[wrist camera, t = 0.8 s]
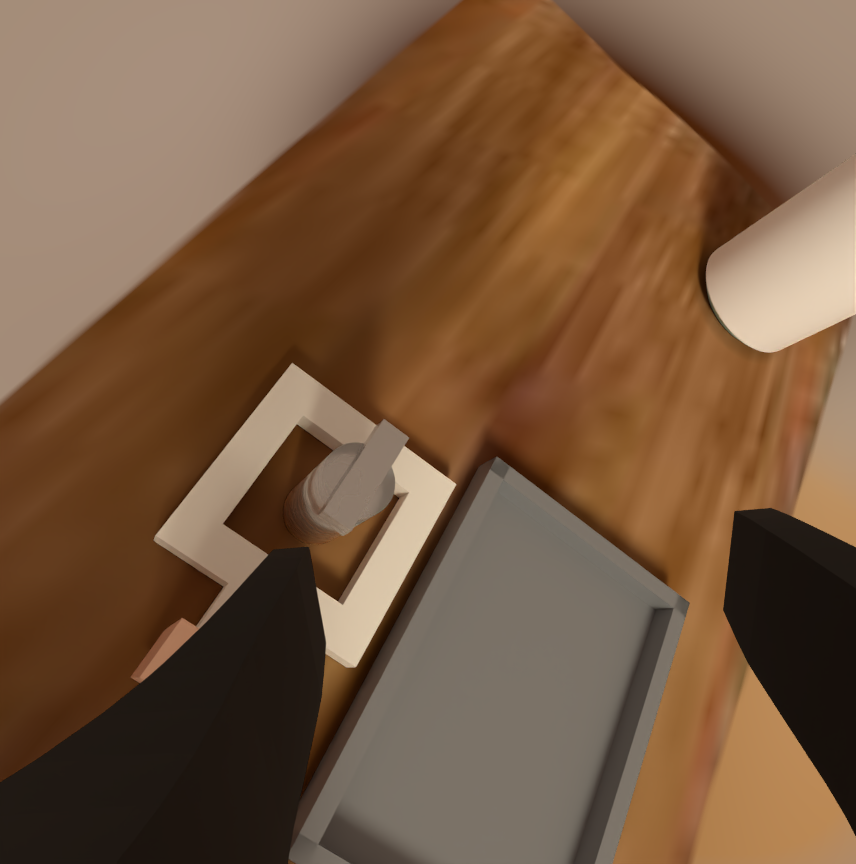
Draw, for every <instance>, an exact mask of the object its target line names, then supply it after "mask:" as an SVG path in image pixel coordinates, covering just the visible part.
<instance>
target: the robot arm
mask: <svg viewBox="0 0 856 864" xmlns="http://www.w3.org/2000/svg"><path fill="white" fill-rule="evenodd" d="M723 611H724V613H725V615H726V617H727V619H728V622H729V624H730V626H731V628H732V631H733V633H734V635H735V637H736V639H737V642H738V644H739V646H740V648H741V650H742V652H743V654H744V656H745V658H746V660H747V662H748V664H749V665H750V667H751V669H752V670H753V672H754V673H755V675H756V677H757V678H758V680H759V681H760V683H761V684H762V686H763V688H764V689H765V691H766V692H767V694H768V695H769V697H770V698H771V700H772V701H773V703H774V705H775V706H776V708H777V709H778V711H779V712H780V714H781V715H782V717H783V719H784V720H785V722H786V723H787V725H788V726H789V728H790V729H791V731H792V732H793V734H794V735H795V737H796V738H797V740H798V742H799V743H800V744H801V746H802V748H803V749H804V751H805V752H806V754H807V755H808V757H809V758H810V760H811V761H812V763H813V765H814V766H815V767H816V769H817V771H818V772H819V773H820V775H821V777H822V778H823V780H824V781H825V783H826V784H827V786H828V788H829V789H830V791H831V793H832V794H833V796H834V798H835V799H836V801H837V803H838V804H839V806H840V808H841V809H842V811H843V813H844V815H845V816H846V818H847V820H848V822H849V824H850V826H851V828H852V830H853V831H854V834H855V836H856V547H854V546H852V545H850V544H848V543H846V542H844V541H842V540H840V539H837V538H836V537H834V536H832V535H829V534H827V533H825V532H823V531H821V530H819V529H817V528H815V527H813V526H811V525H809V524H807V523H805V522H803V521H800V520H798V519H796V518H794V517H792V516H789V515H787V514H785V513H782V512H780V511H777V510H775V509H772V508H767V509H755V510H743V511H735V512H734V521H733V530H732V538H731V547H730V556H729V565H728V573H727V582H726V591H725V599H724V608H723ZM325 652H326V638H325V633H324V627H323V622H322V616H321V611H320V605H319V600H318V594H317V589H316V583H315V578H314V572H313V566H312V561H311V555H310V550H309V547H299V548H287V549H275V550H273V551H272V552H271V553H270V554H269V555H268V556H267V557H266V558H265V559H264V560H263V561H262V562H261V563H260V565H259V566H258V567H257V568H256V569H255V570H254V571H253V572H252V573H251V574H250V575H249V577H248V578H247V579H246V580H245V581H244V582H243V583H242V584H241V585H240V587H239V588H238V589H237V590H236V591H235V592H234V593H233V594H232V595H231V596H230V597H229V599H228V600H227V601H226V602H225V603H224V604H223V605H222V606H221V607H220V608H219V609H218V610H217V611H216V612H215V613H214V614H213V615H212V617H211V618H210V619H209V620H208V621H207V622H206V623H205V624H204V625H203V626H202V627H201V628H200V629H199V630H198V631H196V632H195V633H194V634H193V635H192V636H191V637H190V638H189V639H188V640H187V641H186V642H185V643H184V644H183V645H182V646H181V647H180V648H179V649H178V650H177V651H176V652H175V653H174V654H172V655H171V656H170V657H169V658H168V659H167V660H166V661H165V662H164V663H163V664H162V665H161V666H160V667H158V668H157V669H156V670H155V671H154V672H153V673H152V674H150V675H149V676H148V677H147V678H146V679H145V680H143V681H142V682H141V683H140V684H139V685H137V686H136V687H135V688H134V689H132V690H131V691H130V692H129V693H127V694H126V695H125V696H124V697H122V698H121V699H120V700H119V701H117V702H116V703H115V704H114V705H112V706H111V707H110V708H109V709H107V710H106V711H105V712H103V713H102V714H101V715H99V716H98V717H97V718H95V719H94V720H92V721H91V722H90V723H88V724H87V725H85V726H84V727H82V728H81V729H80V730H78V731H77V732H75V733H74V734H72V735H71V736H70V737H68V738H67V739H65V740H64V741H62V742H61V743H60V744H58V745H57V746H55V747H54V748H53V749H51V750H50V751H48V752H47V753H45V754H44V755H43V756H41V757H40V758H38V759H37V760H35V761H34V762H32V763H30V764H29V765H27V766H26V767H24V768H23V769H21V770H19V771H18V772H16V773H15V774H13V775H11V776H10V777H8V778H7V779H5V780H3V781H2V782H0V864H288V859H289V853H290V847H291V841H292V835H293V829H294V824H295V820H296V815H297V810H298V806H299V801H300V796H301V792H302V787H303V783H304V778H305V773H306V769H307V764H308V759H309V755H310V750H311V746H312V741H313V736H314V731H315V727H316V722H317V717H318V712H319V707H320V702H321V697H322V687H323V677H324V665H325Z"/></svg>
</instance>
